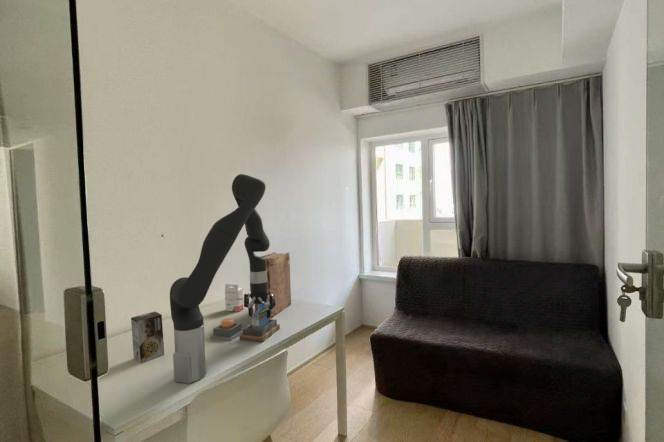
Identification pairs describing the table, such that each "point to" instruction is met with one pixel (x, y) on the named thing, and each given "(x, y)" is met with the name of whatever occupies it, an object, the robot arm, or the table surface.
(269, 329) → the tray
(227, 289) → the ink cartridge box
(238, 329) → the button panel
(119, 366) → the table surface
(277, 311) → the book
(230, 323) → the button
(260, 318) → the label tape box
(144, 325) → the coffee box
